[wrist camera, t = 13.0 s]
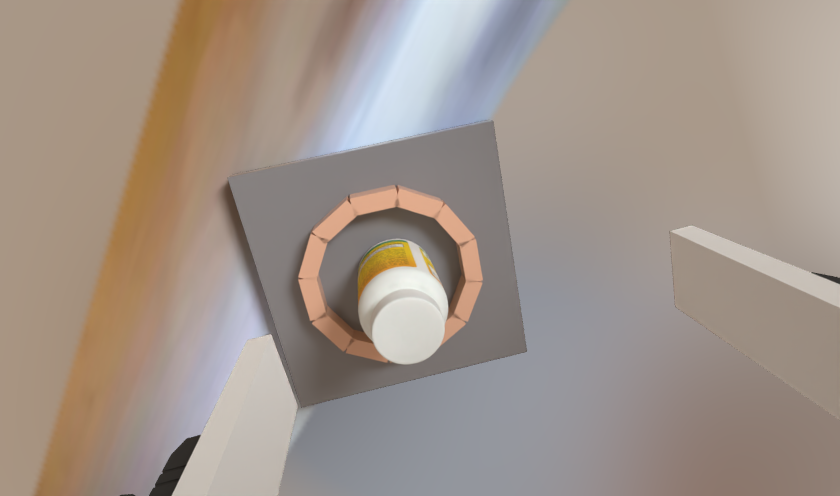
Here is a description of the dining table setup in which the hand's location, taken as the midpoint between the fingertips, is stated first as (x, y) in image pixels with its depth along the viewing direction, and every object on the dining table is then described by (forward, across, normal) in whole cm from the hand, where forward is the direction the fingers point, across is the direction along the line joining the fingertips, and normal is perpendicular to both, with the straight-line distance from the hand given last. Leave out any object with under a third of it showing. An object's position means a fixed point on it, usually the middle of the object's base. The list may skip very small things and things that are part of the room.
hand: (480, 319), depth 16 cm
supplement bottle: (+19, +3, +5) cm, 20 cm away
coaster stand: (+21, +3, +5) cm, 22 cm away
